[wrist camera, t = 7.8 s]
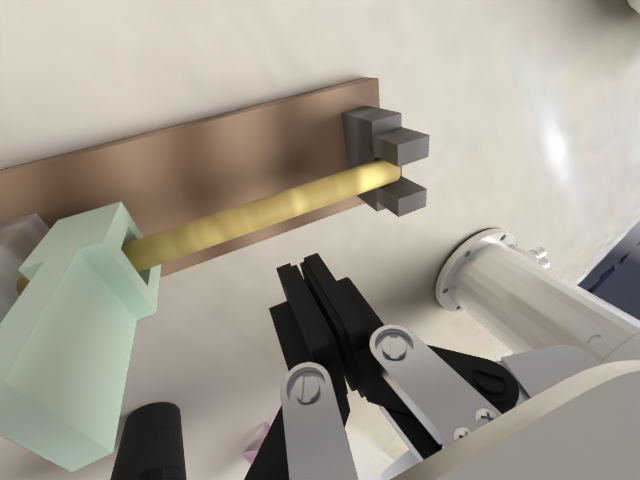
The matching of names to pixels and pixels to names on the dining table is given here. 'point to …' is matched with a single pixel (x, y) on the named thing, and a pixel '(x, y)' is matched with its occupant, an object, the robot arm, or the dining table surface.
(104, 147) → the wooden rod slider stand
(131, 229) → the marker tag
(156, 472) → the drinking cup
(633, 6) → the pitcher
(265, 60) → the dining table surface
